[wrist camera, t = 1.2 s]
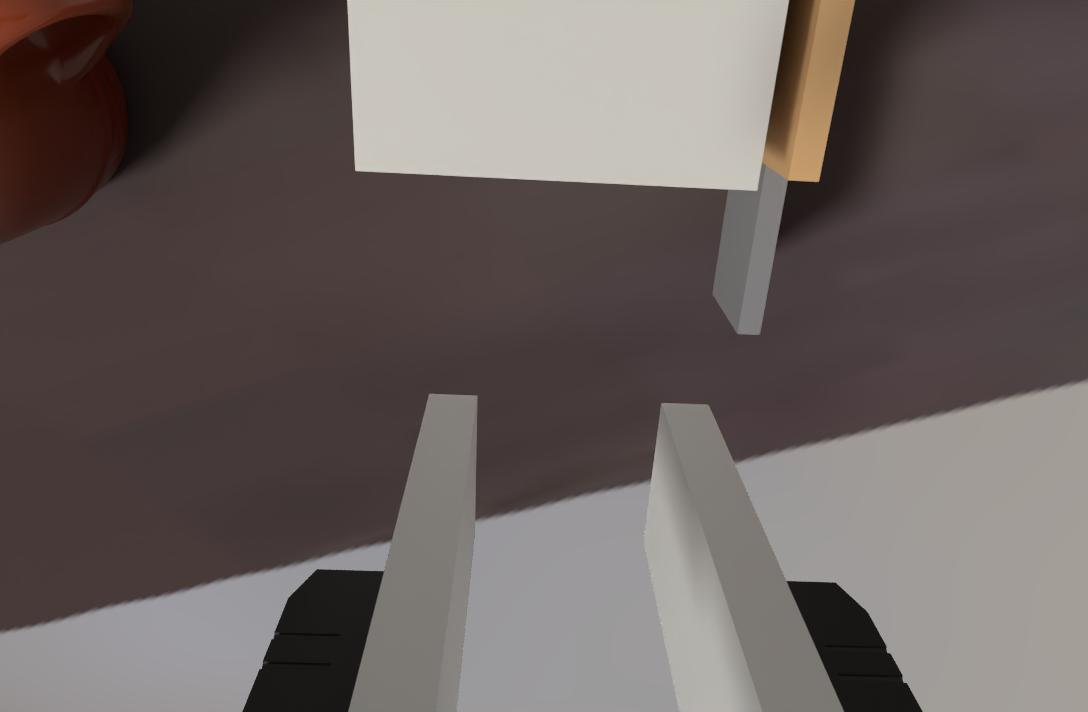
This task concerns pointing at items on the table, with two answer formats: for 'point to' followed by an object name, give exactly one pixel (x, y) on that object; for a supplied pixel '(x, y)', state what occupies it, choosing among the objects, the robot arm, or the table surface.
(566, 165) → the housing
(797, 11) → the door
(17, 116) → the mug
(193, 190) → the table surface
